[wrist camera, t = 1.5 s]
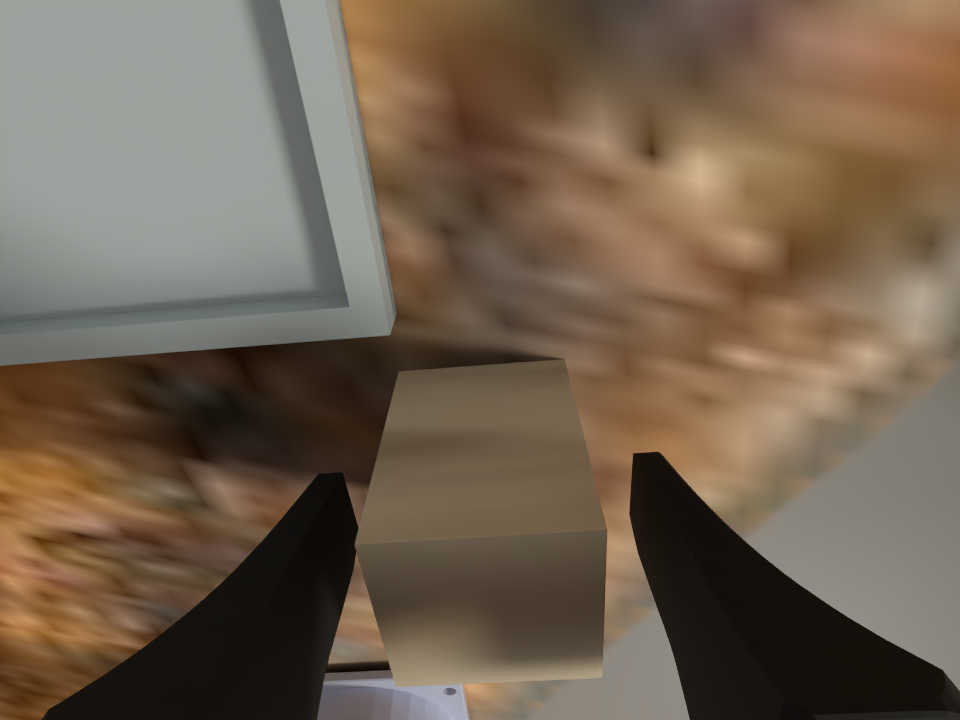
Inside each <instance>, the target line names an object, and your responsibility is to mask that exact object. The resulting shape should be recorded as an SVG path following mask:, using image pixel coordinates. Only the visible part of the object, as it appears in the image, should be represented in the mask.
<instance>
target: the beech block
mask: <svg viewBox="0 0 960 720" xmlns="http://www.w3.org/2000/svg"><path fill="white" fill-rule="evenodd" d="M355 548H356V552H357V555H358V559H359V562H360V566H361V569H362V572H363V576H364V579H365V583H366V586H367V590H368V593H369V596H370V600H371V603H372V607H373V610H374V613H375V617H376V620H377V624H378V627H379V631H380V634H381V637H382V641H383V644H384V648H385V651H386V655H387V658H388V661H389V665H390V668H391V672H392V675H393V679H394V682H395V685H396V687H409V686H431V685H453V684H475V683H497V682H518V681H540V680H562V679H584V678H602V667H603V638H604V609H605V579H606V550H607V527H606V523H605V519H604V515H603V511H602V507H601V503H600V499H599V495H598V491H597V487H596V483H595V479H594V475H593V471H592V467H591V463H590V459H589V455H588V451H587V447H586V443H585V439H584V435H583V431H582V427H581V423H580V419H579V415H578V411H577V407H576V403H575V399H574V395H573V391H572V387H571V383H570V379H569V375H568V371H567V367H566V363H565V359H558V360H545V361H532V362H518V363H505V364H492V365H478V366H465V367H452V368H438V369H425V370H412V371H399V372H398V376H397V380H396V384H395V387H394V391H393V395H392V399H391V403H390V407H389V411H388V415H387V419H386V423H385V427H384V431H383V435H382V439H381V442H380V446H379V450H378V454H377V458H376V462H375V466H374V470H373V474H372V478H371V482H370V486H369V490H368V494H367V498H366V501H365V505H364V509H363V513H362V517H361V521H360V525H359V529H358V533H357V537H356V541H355Z"/></svg>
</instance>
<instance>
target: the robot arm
mask: <svg viewBox="0 0 960 720" xmlns="http://www.w3.org/2000/svg"><path fill="white" fill-rule="evenodd" d="M629 515H630V519H631V524H632V528H633V533H634V537H635V542H636V546H637V550H638V554H639V557H640V560H641V563H642V566H643V569H644V571H645V574H646V577H647V580H648V583H649V586H650V588H651V591H652V594H653V597H654V600H655V602H656V605H657V608H658V611H659V614H660V616H661V619H662V622H663V624H664V628H665V630H666V633H667V636H668V639H669V642H670V645H671V648H672V652H673V655H674V658H675V662H676V666H677V670H678V674H679V677H680V682H681V685H682V689H683V693H684V697H685V701H686V705H687V710H688V714H689V718H690V720H960V691H959V690H958V689H957V687H956V686H955V685H954V684H953V682H952V681H951V680H950V679H949V678H948V676H947V675H946V674H945V673H944V671H943V670H941V669H940V668H938V667H936V666H934V665H932V664H930V663H928V662H926V661H925V660H923V659H921V658H919V657H917V656H915V655H913V654H911V653H910V652H908V651H906V650H904V649H902V648H900V647H898V646H896V645H894V644H893V643H891V642H889V641H887V640H885V639H883V638H882V637H880V636H878V635H876V634H875V633H873V632H872V631H870V630H868V629H867V628H865V627H863V626H861V625H860V624H858V623H856V622H855V621H853V620H851V619H850V618H848V617H847V616H845V615H843V614H842V613H840V612H839V611H837V610H836V609H834V608H833V607H831V606H830V605H828V604H826V603H825V602H824V601H822V600H821V599H819V598H818V597H816V596H815V595H813V594H812V593H811V592H809V591H808V590H806V589H805V588H803V587H802V586H800V585H799V584H797V583H796V582H795V581H793V580H792V579H791V578H789V577H788V576H787V575H785V574H784V573H782V572H781V571H780V570H779V569H778V568H776V567H775V566H774V565H773V564H771V563H770V562H769V561H768V560H766V559H765V558H764V557H763V556H761V555H760V554H759V553H758V552H757V551H756V550H754V549H753V548H752V547H751V546H750V545H749V544H748V543H746V542H745V541H744V540H743V539H742V538H741V537H740V536H739V535H738V534H737V533H735V532H734V531H733V530H732V529H731V528H730V527H729V526H728V525H727V524H726V523H725V522H724V521H723V520H722V519H721V518H720V517H719V516H718V515H717V514H716V513H715V512H714V511H713V510H712V509H711V508H710V507H709V506H708V505H707V504H706V503H705V502H704V501H703V500H702V499H701V498H700V497H699V496H698V495H697V494H696V493H695V492H694V491H693V489H692V488H691V487H690V486H689V485H688V484H687V483H686V482H685V481H684V479H683V478H682V477H681V476H680V475H679V474H678V473H677V472H676V470H675V469H674V468H673V467H672V466H671V465H670V463H669V462H668V461H667V460H666V459H665V457H664V456H663V455H662V454H661V453H659V452H649V453H633V465H632V481H631V497H630V513H629ZM358 529H359V528H358V525H357V521H356V518H355V514H354V511H353V507H352V504H351V500H350V497H349V493H348V490H347V486H346V483H345V479H344V475H343V472H341V473H326V474H318V476H317V477H316V478H315V479H314V480H313V481H312V482H311V484H310V485H309V486H308V487H307V488H306V490H305V491H304V492H303V493H302V495H301V496H300V497H299V498H298V499H297V501H296V502H295V503H294V504H293V506H292V507H291V508H290V509H289V510H288V512H287V513H286V514H285V515H284V516H283V518H282V519H281V520H280V521H279V522H278V523H277V525H276V526H275V527H274V528H273V529H272V530H271V532H270V533H269V534H268V535H267V536H266V537H265V538H264V540H263V541H262V542H261V543H260V544H259V545H258V546H257V547H256V548H255V549H254V550H253V551H252V553H251V554H250V555H249V556H248V557H247V558H246V559H245V560H244V561H243V562H242V563H241V564H240V565H239V566H238V567H237V568H236V569H235V570H234V571H233V572H232V573H231V574H230V575H229V576H228V577H227V578H226V579H225V580H224V581H223V582H222V583H221V584H220V585H219V586H218V587H217V588H216V589H215V590H213V591H212V592H211V593H210V594H209V595H208V596H207V597H206V598H205V599H204V600H202V601H201V602H200V603H199V604H198V605H197V606H196V607H194V608H193V609H192V610H191V611H189V612H188V613H187V614H186V615H184V616H183V617H182V618H181V619H180V620H178V621H177V622H176V623H175V624H173V625H172V626H171V627H170V628H168V629H167V630H166V631H165V632H163V633H162V634H161V635H160V636H158V637H157V638H156V639H154V640H153V641H152V642H150V643H149V644H148V645H146V646H145V647H144V648H142V649H141V650H140V651H138V652H137V653H135V654H134V655H133V656H131V657H130V658H128V659H127V660H125V661H124V662H123V663H121V664H120V665H118V666H117V667H115V668H114V669H112V670H111V671H109V672H108V673H106V674H105V675H103V676H102V677H100V678H99V679H97V680H96V681H94V682H92V683H91V684H89V685H88V686H86V687H84V688H83V689H81V690H80V691H78V692H76V693H75V694H73V695H72V696H70V697H69V698H67V699H65V700H64V701H62V702H61V703H59V704H57V705H56V706H54V707H52V708H50V709H49V710H48V711H47V713H46V714H45V716H44V717H43V719H42V720H470V719H469V713H468V708H467V703H466V697H465V692H464V686H463V684H453V685H431V686H409V687H396V685H395V682H394V679H393V675H392V672H391V670H380V671H359V672H338V673H325V672H326V668H327V664H328V660H329V656H330V652H331V648H332V645H333V641H334V638H335V634H336V631H337V627H338V623H339V620H340V616H341V613H342V609H343V606H344V602H345V598H346V595H347V591H348V587H349V584H350V580H351V576H352V573H353V568H354V562H355V556H356V548H355V541H356V537H357V533H358Z"/></svg>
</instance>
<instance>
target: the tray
mask: <svg viewBox="0 0 960 720" xmlns="http://www.w3.org/2000/svg"><path fill="white" fill-rule="evenodd" d="M396 314H397V312H396V306H395V301H394V295H393V290H392V284H391V279H390V273H389V268H388V263H387V257H386V252H385V246H384V241H383V235H382V230H381V224H380V219H379V213H378V208H377V202H376V197H375V191H374V186H373V180H372V175H371V169H370V164H369V158H368V153H367V147H366V142H365V136H364V131H363V126H362V120H361V115H360V109H359V104H358V98H357V93H356V87H355V82H354V76H353V71H352V65H351V60H350V54H349V49H348V43H347V38H346V32H345V27H344V21H343V16H342V10H341V5H340V0H0V366H4V365H17V364H29V363H42V362H55V361H68V360H80V359H93V358H106V357H119V356H131V355H144V354H157V353H170V352H182V351H195V350H208V349H221V348H234V347H246V346H259V345H272V344H285V343H297V342H310V341H323V340H336V339H348V338H361V337H374V336H387V335H390V334H391V330H392V327H393V324H394V321H395V318H396Z"/></svg>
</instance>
